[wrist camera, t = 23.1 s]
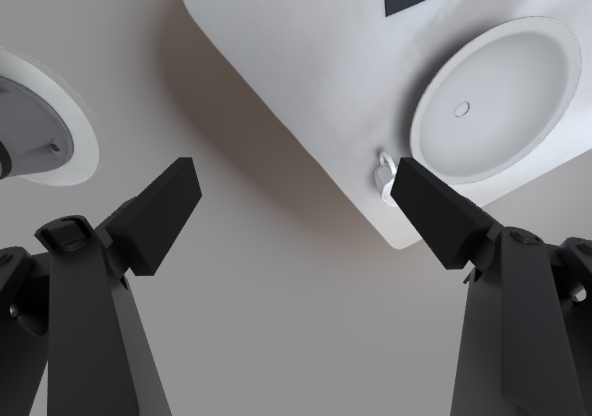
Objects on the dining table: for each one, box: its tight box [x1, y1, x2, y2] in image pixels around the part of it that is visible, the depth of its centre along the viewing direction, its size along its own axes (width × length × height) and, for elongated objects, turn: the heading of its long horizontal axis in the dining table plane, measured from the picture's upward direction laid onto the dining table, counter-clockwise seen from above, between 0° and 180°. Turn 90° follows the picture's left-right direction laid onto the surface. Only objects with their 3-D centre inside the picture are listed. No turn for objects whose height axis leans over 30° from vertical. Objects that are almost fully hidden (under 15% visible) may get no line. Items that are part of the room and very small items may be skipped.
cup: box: [374, 151, 398, 207], centre depth 42 cm, size 7×10×8 cm
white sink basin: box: [410, 16, 582, 185], centre depth 37 cm, size 24×24×7 cm
